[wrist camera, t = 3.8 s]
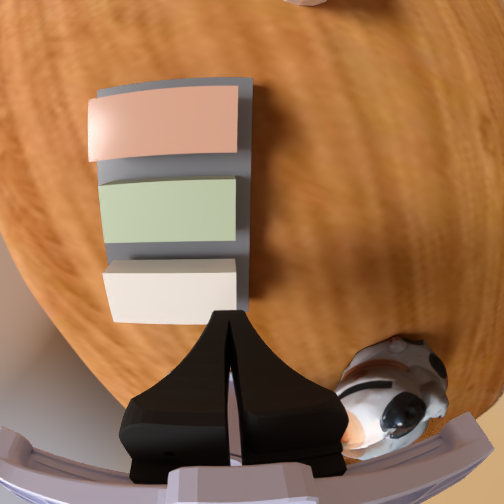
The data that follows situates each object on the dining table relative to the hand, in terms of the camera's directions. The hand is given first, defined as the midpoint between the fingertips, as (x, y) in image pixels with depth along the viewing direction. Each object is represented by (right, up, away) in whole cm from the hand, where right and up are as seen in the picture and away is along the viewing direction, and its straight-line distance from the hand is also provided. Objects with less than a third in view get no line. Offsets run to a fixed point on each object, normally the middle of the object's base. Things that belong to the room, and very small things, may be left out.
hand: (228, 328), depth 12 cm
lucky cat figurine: (+14, -11, +16) cm, 24 cm away
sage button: (-4, +6, +5) cm, 9 cm away
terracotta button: (-4, +11, +2) cm, 11 cm away
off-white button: (-4, +1, +6) cm, 7 cm away
